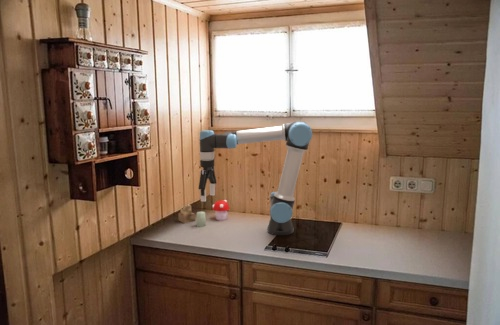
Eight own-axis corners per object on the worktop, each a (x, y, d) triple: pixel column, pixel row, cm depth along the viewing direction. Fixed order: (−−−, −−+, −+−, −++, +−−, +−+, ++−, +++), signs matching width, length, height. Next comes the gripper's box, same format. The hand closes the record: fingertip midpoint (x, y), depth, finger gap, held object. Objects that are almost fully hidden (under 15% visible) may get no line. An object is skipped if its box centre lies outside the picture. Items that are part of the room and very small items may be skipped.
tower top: (187, 211, 271) (187, 204, 270) (191, 213, 267) (191, 205, 266) (180, 213, 268) (180, 205, 267) (184, 215, 264) (184, 207, 263)
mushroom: (217, 222, 265) (216, 203, 263) (209, 217, 274) (209, 199, 272) (232, 219, 270) (232, 201, 268) (224, 215, 279) (224, 197, 277)
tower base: (189, 218, 274) (188, 211, 273) (195, 221, 268) (194, 213, 267) (178, 220, 269) (178, 213, 268) (184, 223, 263) (184, 215, 262)
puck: (202, 223, 262) (202, 210, 261) (207, 225, 258) (206, 212, 257) (195, 225, 259) (194, 212, 258) (199, 227, 255) (199, 214, 254)
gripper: (208, 155, 241) (209, 192, 245) (191, 162, 218) (192, 203, 221) (221, 156, 239) (222, 193, 243) (205, 163, 216) (206, 204, 219)
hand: (208, 198), depth 232 cm, fingers open, 13 cm apart
